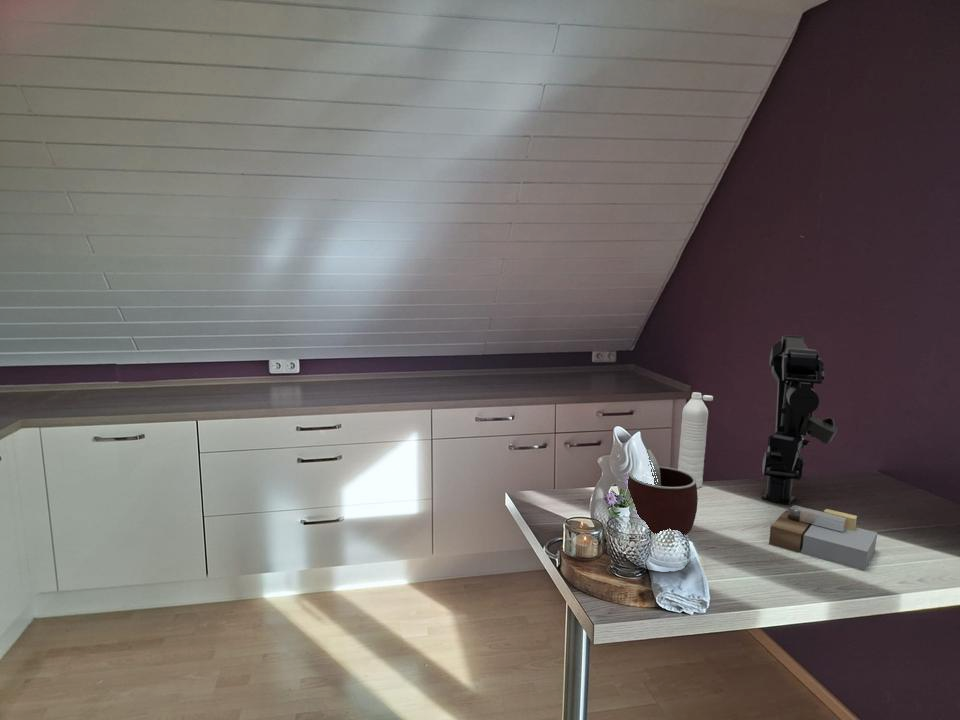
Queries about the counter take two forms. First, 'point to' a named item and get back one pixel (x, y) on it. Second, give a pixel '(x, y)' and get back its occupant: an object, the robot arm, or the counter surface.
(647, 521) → the mate gourd
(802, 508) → the bar
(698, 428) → the water bottle
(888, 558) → the counter surface
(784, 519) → the jamb block
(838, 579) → the counter surface
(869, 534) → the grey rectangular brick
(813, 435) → the robot arm
